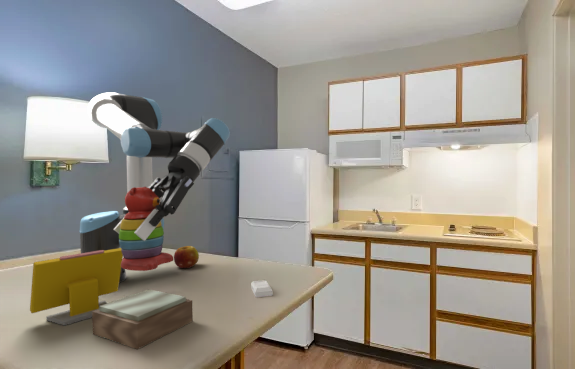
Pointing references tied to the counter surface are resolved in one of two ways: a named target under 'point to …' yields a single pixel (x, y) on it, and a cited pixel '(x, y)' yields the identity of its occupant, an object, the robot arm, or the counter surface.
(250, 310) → the counter surface
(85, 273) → the toy computer monitor
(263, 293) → the white beveled block
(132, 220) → the stacking bear
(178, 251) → the fruit
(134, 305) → the plinth
